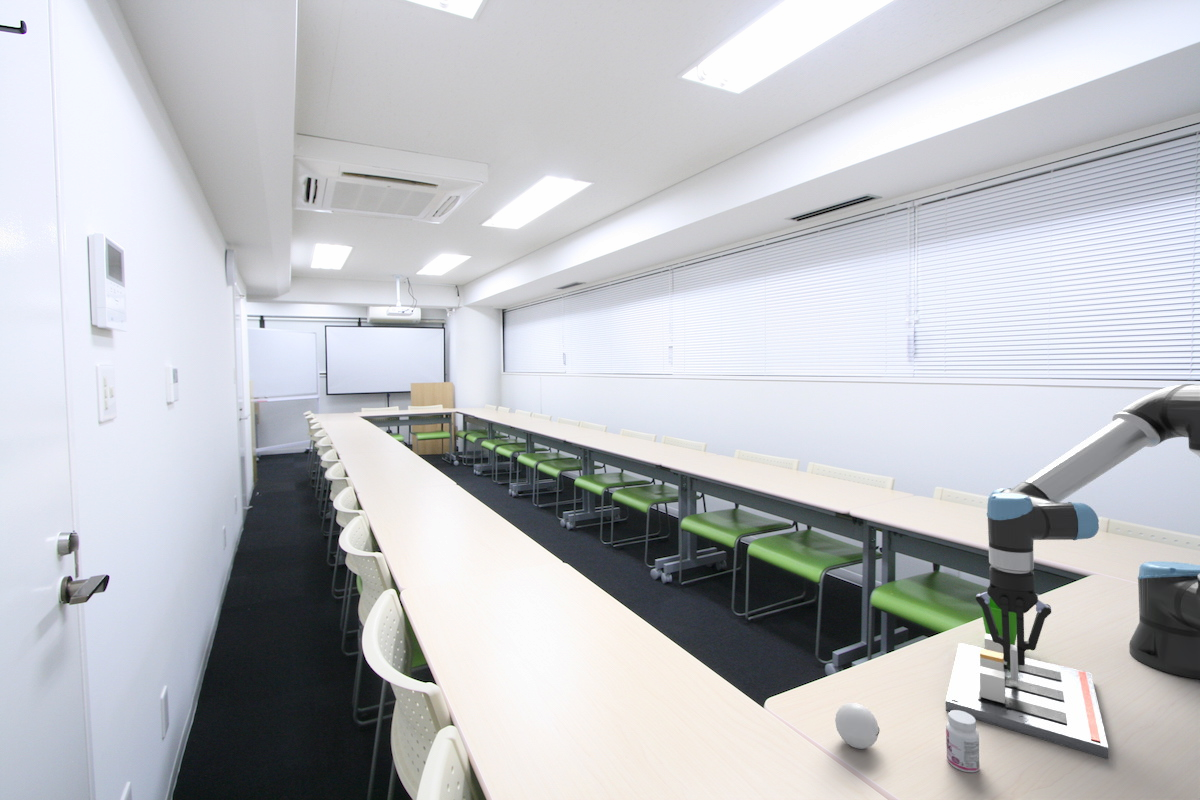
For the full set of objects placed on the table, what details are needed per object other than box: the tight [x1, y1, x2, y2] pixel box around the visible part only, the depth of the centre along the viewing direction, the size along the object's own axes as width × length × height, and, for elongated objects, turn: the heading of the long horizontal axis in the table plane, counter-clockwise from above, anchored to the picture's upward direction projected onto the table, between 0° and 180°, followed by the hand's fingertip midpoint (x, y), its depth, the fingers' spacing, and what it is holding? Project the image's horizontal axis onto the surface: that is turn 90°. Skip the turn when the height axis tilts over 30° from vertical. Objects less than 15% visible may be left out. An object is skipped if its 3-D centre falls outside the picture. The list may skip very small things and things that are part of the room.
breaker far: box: [984, 632, 1007, 665], centre depth 122 cm, size 4×3×5 cm
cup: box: [980, 597, 1017, 645], centre depth 132 cm, size 9×9×11 cm
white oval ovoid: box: [834, 702, 881, 750], centre depth 100 cm, size 10×7×7 cm
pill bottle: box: [945, 710, 980, 773], centre depth 93 cm, size 5×5×8 cm
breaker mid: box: [980, 647, 1004, 672], centre depth 115 cm, size 4×3×5 cm
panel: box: [945, 642, 1109, 759], centre depth 112 cm, size 24×30×2 cm
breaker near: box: [980, 666, 1005, 703], centre depth 108 cm, size 4×3×5 cm
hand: (1014, 677), depth 112 cm, fingers closed
